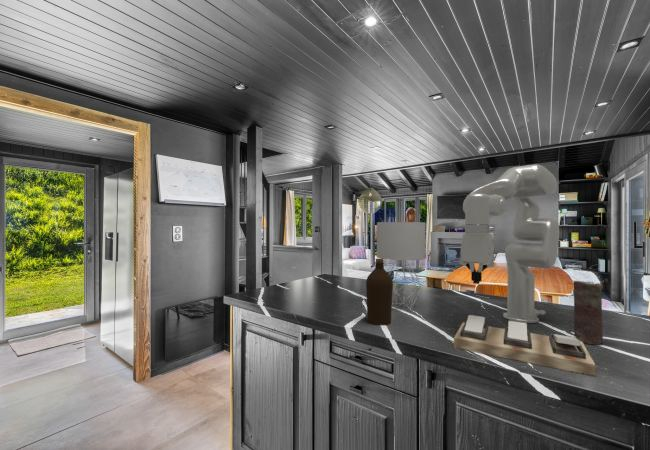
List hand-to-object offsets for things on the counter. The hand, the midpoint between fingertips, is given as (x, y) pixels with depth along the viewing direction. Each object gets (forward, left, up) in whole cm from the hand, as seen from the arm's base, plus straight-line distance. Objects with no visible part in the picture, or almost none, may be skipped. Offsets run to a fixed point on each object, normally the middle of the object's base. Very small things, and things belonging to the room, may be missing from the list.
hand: (476, 283), depth 106 cm
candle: (-36, +5, -19) cm, 41 cm away
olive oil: (+29, -20, -19) cm, 40 cm away
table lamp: (+13, -42, -19) cm, 47 cm away
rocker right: (-17, +17, -14) cm, 28 cm away
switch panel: (-7, +10, -19) cm, 23 cm away
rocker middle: (-7, +10, -14) cm, 19 cm away
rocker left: (+2, +3, -14) cm, 15 cm away
